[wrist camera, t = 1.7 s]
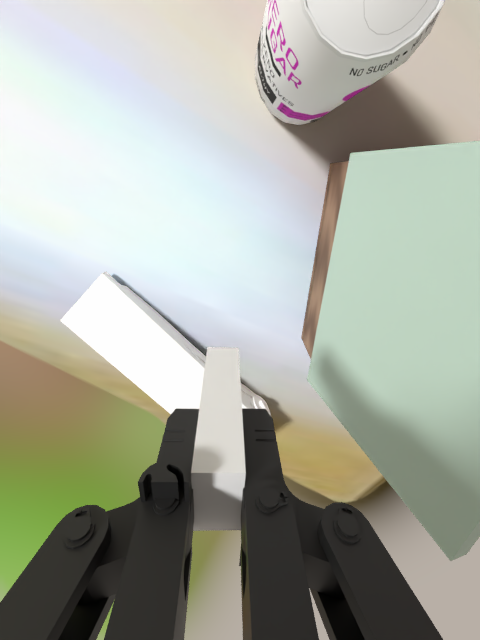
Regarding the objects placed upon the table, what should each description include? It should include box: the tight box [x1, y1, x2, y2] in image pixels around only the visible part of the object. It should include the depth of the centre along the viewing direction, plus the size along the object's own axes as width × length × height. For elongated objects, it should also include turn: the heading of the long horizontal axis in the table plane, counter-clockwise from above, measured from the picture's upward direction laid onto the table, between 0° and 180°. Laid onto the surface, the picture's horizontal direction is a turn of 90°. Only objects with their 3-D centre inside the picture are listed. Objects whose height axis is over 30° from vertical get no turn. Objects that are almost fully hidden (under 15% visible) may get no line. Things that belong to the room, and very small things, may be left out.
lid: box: [307, 141, 480, 561], centre depth 19 cm, size 21×16×1 cm
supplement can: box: [255, 0, 445, 125], centre depth 18 cm, size 8×8×15 cm
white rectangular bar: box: [60, 272, 271, 416], centre depth 38 cm, size 10×7×28 cm
